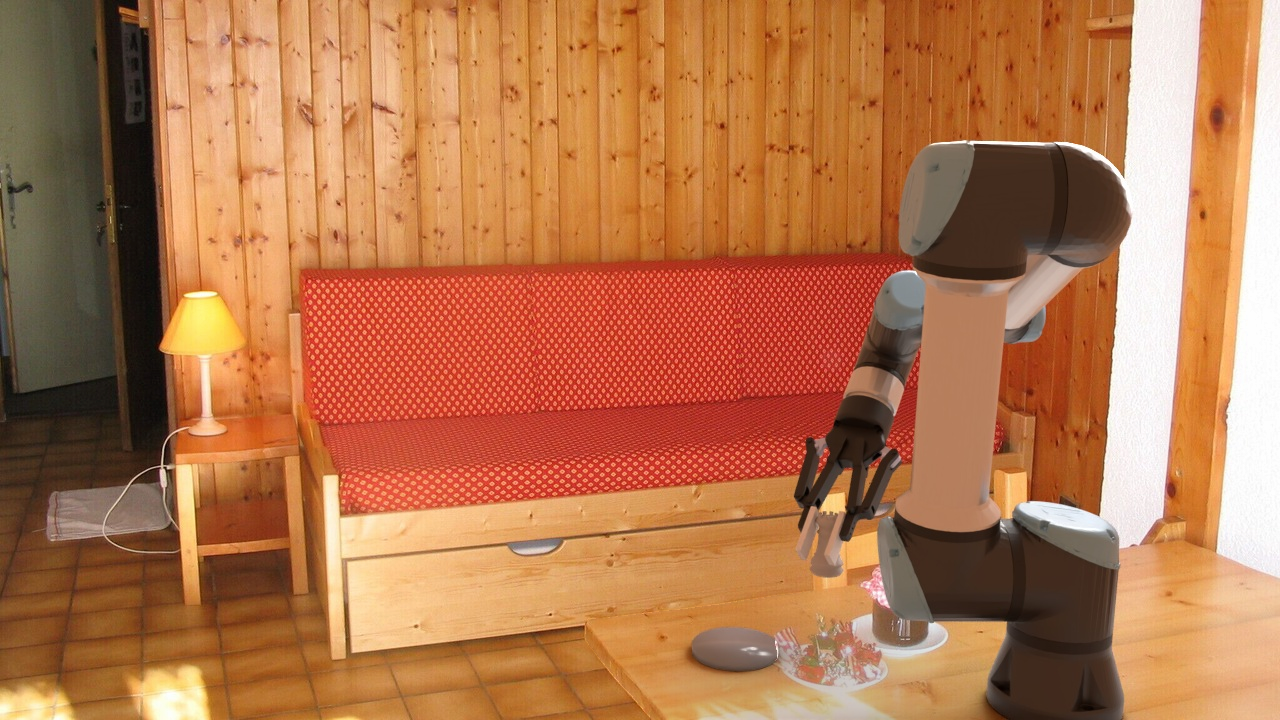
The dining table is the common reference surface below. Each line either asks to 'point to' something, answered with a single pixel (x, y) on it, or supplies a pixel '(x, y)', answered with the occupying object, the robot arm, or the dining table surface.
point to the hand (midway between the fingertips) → (815, 557)
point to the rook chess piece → (818, 560)
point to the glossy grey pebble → (734, 649)
